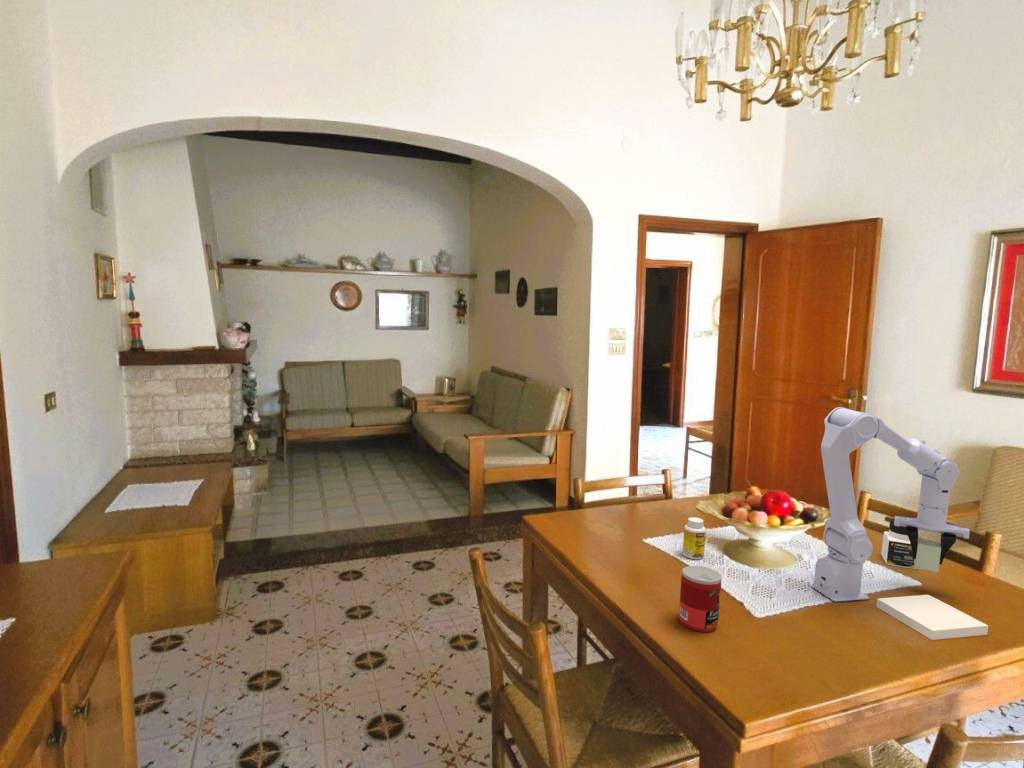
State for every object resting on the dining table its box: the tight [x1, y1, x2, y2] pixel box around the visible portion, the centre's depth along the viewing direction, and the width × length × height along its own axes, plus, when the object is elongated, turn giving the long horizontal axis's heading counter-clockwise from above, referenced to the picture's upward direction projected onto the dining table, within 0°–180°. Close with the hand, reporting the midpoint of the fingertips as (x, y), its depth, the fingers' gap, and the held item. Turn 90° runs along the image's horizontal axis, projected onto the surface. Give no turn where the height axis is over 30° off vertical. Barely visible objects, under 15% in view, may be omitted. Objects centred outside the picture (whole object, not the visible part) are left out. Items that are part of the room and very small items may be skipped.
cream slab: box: [875, 594, 989, 641], centre depth 128 cm, size 14×14×2 cm
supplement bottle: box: [682, 517, 707, 560], centre depth 159 cm, size 6×6×10 cm
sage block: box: [914, 537, 941, 573], centre depth 141 cm, size 4×4×6 cm
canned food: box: [678, 565, 722, 633], centre depth 123 cm, size 8×8×11 cm
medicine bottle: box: [881, 517, 918, 570], centre depth 159 cm, size 7×7×12 cm
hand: (926, 560), depth 141 cm, fingers closed on sage block, 4 cm apart
